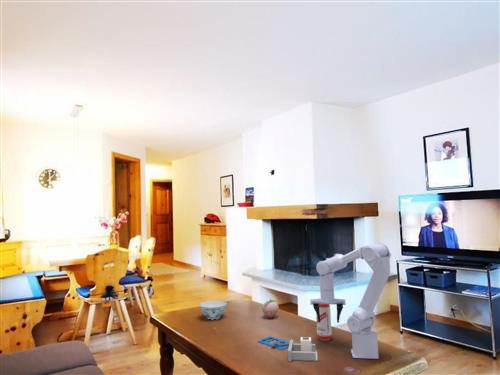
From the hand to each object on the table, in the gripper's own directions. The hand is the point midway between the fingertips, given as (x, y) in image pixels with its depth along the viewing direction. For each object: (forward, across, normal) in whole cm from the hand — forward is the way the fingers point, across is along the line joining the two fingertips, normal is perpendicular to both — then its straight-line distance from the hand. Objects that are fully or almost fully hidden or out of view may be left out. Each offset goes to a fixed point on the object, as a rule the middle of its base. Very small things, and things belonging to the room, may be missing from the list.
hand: (328, 321), depth 153 cm
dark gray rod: (+9, +19, +4) cm, 22 cm away
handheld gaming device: (+10, +23, 0) cm, 25 cm away
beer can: (+10, +2, -7) cm, 12 cm away
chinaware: (+10, +61, -36) cm, 71 cm away
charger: (+9, +10, +12) cm, 18 cm away
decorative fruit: (+10, +30, -38) cm, 49 cm away
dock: (+9, +10, +13) cm, 19 cm away
